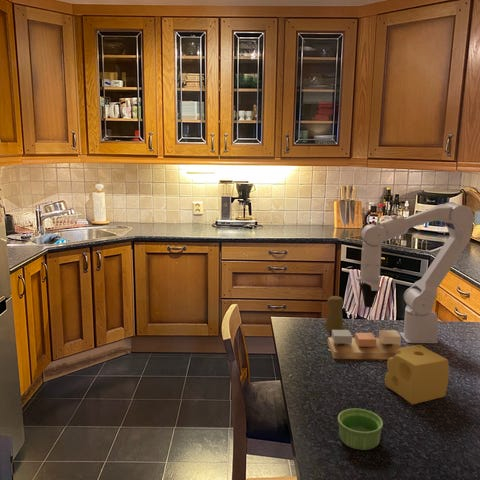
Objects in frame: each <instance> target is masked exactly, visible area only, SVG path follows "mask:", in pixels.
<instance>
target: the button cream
mask: <svg viewBox="0 0 480 480" xmlns="http://www.w3.org/2000/svg"><path fill="white" fill-rule="evenodd" d="M378 338H380V340H381V341H382V343H383V344H399V345H401V344H402V336H401V335H400V334H399V332H398V331H397V330H395V329H393V330H390V329H389V330H388V329H387V330H386V329H379V330H378Z"/></svg>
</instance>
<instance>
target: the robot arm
mask: <svg viewBox="0 0 480 480" xmlns="http://www.w3.org/2000/svg"><path fill="white" fill-rule="evenodd" d="M475 220H476V218H475V216H474V213H473V210H472V209H471V208H470V207H469V206H467V205H464V204H459V203H456V202H454V201H448V202H446V203H441V204H437V205H435V206H433V207H430V208H428V209H425V210H423V211H419V212H416V213H415V214H412V215H409V216H407V217H403V216H401V215H395V214H394V215H391V216H390V218H388V219H386V220H383V221H382V220H381V221H375V224H373V223H371V224H370V223H368V224H366V225H365V226H364V227H363V228H362V230H361V232H360V238H361V239H362V247H361V259H360V276H356V279H355V280H356V281H359V282H358V283H359V284H358V285H359V287H360V290H361V293H362V298H363V300H362V301H363V305H364V307H365V308H372V307H373V305H374V302H375V300H376V296H377V294H378V293H379V292H380V289H381V286H380V282H381V278H380V277H381V263H382V261H381V260H382V244H384V242H385V241H387V240H391V239H395V238H396V237H399V236H402V235H406V234H407V232H408V230H409V229H411V228H414V227H417V226H421V225H424V224H428V223H431V222H442V223H444V224H445V226H446V228H447V230H448V233H449V237H448V238H447V240H446V241H445V243H444V245H443V246H442V247H441V249H440V250H439V252H438V253H437V255H436V256H435V258H434V259H433V261H432V262H431V264H430V265H429V267H428V268H427V269H426V271H425V272H424V274H423V275H422V277H421V278H419V280H416V281H415V282H414V283H413V284H412V285H411V286H410V287H409V288H407V289H406V290H405V291H404V293H403V300H404V302H405V304H406V306H405V309H404V320H403V321H404V322H403V324H404V325H403V331H400V332H398V333H399V335H400V336H401V339H403V340H404V341H405V343H407V344H438V332H439V331H438V330H439V329H438V328H439V317H438V315H437V313H436V312H435V311H432V310H433V308H434V303H435V300H436V299H437V297H438V288H439V286H440V285H441V284H442V282H443V280H444V279H445V278H446V276H447V275H448V273H449V272H450V270H451V269H452V267H453V266H454V265H455V263H456V261H457V260H458V258H459V257H460V256H461V254H462V253H463V252H464V250H465V248H466V247H467V246H468V244H469V243H470V240H471V238H472V231H473V230H472V228H473V223H474V222H475Z"/></svg>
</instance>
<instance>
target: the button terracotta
mask: <svg viewBox="0 0 480 480" xmlns="http://www.w3.org/2000/svg"><path fill="white" fill-rule="evenodd" d="M354 338H355V341H356V343H357V345H358V346H359V347H376V338H377V337H375V335H374V334H373V332H355V335H354Z"/></svg>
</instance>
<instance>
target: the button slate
mask: <svg viewBox="0 0 480 480" xmlns="http://www.w3.org/2000/svg"><path fill="white" fill-rule="evenodd" d="M331 337H332V339H333V341H334V343H348V344H352V338H353V335H352V333H351V332H350V329H344V330H332V332H331Z"/></svg>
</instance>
